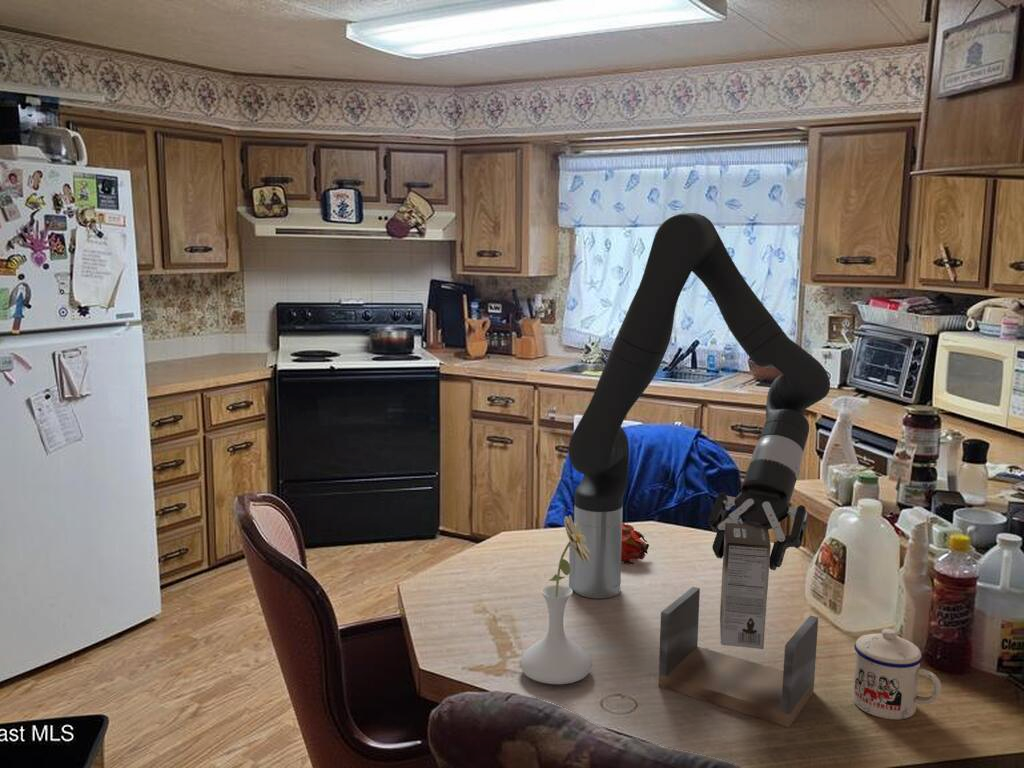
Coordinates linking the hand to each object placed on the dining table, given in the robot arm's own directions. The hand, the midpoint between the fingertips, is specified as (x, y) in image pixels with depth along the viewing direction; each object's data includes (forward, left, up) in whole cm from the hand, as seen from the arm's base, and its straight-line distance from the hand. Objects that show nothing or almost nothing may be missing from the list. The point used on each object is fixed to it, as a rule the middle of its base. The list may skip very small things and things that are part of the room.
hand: (744, 561), depth 130 cm
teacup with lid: (+21, +7, -20) cm, 30 cm away
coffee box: (0, -1, -11) cm, 11 cm away
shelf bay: (0, -1, -20) cm, 20 cm away
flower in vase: (-25, -12, -20) cm, 34 cm away
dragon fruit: (-39, +38, -20) cm, 58 cm away
